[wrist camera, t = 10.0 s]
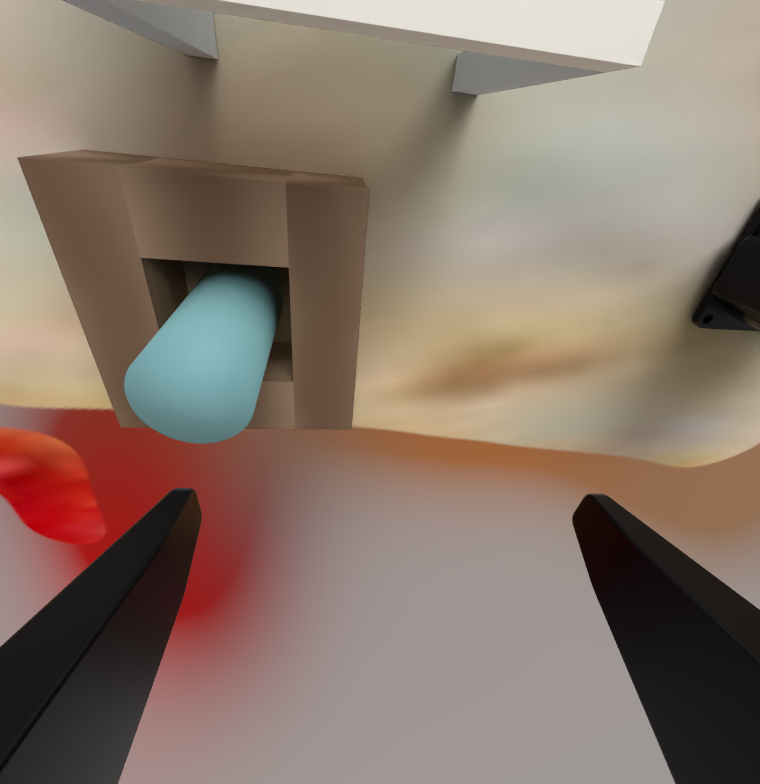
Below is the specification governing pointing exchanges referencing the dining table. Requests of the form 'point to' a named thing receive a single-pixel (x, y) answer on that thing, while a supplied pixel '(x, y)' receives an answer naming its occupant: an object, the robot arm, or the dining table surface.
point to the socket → (209, 244)
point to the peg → (209, 356)
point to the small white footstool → (429, 31)
